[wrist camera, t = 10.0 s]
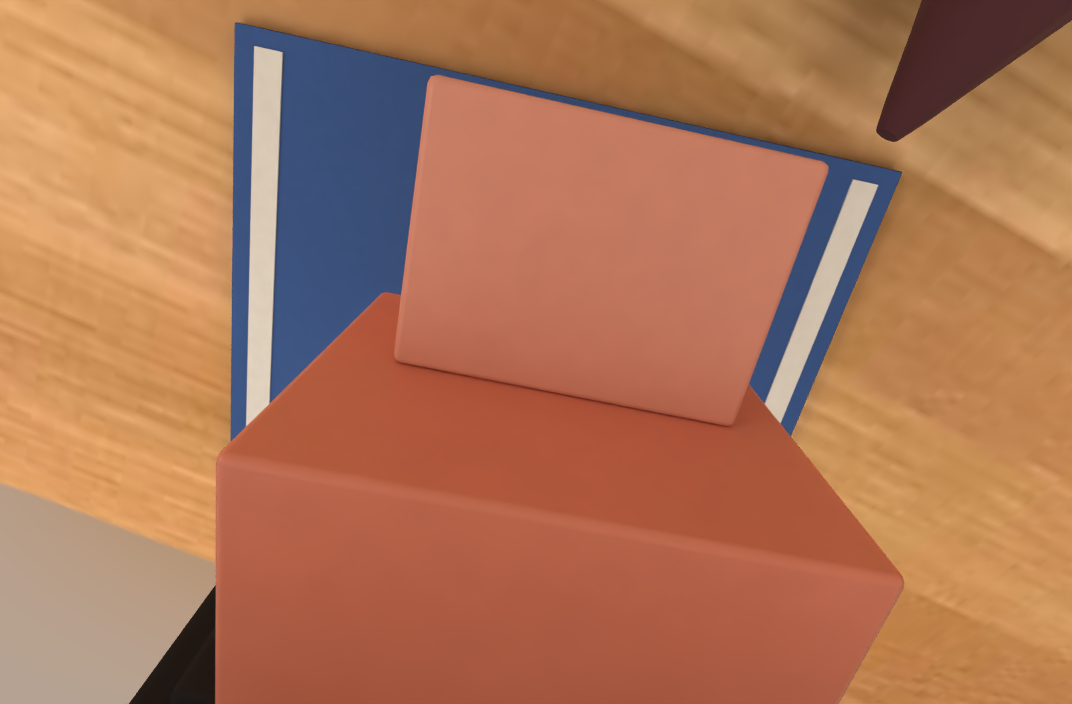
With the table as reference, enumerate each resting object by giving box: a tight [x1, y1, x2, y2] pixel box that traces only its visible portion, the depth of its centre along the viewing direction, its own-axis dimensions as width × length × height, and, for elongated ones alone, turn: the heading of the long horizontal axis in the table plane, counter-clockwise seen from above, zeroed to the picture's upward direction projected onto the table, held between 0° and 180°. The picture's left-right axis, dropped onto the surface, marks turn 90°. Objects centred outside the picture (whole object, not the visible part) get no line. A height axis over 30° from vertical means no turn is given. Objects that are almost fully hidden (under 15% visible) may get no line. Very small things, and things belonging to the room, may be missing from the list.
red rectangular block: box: [215, 75, 904, 704], centre depth 8 cm, size 13×6×5 cm, turn 168°
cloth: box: [231, 22, 902, 441], centre depth 20 cm, size 15×20×1 cm
